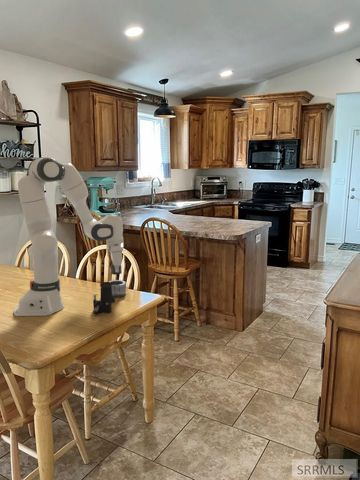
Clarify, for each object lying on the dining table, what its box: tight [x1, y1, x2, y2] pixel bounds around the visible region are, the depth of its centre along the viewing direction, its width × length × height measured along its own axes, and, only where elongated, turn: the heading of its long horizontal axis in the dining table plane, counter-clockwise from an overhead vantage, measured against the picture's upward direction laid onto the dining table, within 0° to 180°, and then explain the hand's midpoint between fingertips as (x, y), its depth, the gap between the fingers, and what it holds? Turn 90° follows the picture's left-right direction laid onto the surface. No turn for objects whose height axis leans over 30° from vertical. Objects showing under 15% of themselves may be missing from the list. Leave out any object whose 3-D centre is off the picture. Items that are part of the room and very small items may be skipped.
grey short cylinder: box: [108, 279, 127, 299], centre depth 206 cm, size 10×10×6 cm
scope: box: [92, 281, 116, 315], centre depth 182 cm, size 8×14×10 cm
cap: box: [110, 262, 123, 276], centre depth 204 cm, size 5×5×6 cm
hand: (116, 270), depth 204 cm, fingers closed on cap, 5 cm apart
